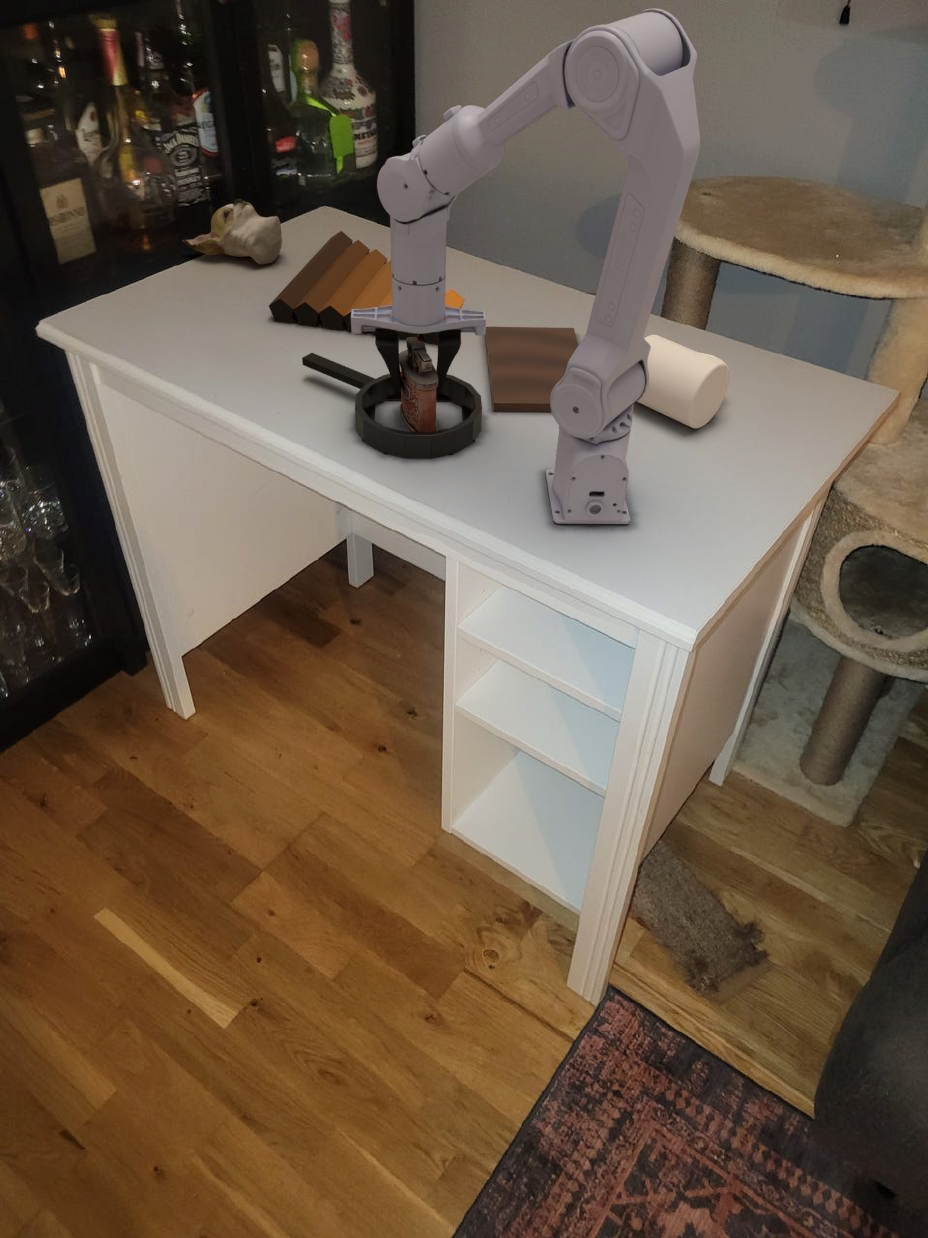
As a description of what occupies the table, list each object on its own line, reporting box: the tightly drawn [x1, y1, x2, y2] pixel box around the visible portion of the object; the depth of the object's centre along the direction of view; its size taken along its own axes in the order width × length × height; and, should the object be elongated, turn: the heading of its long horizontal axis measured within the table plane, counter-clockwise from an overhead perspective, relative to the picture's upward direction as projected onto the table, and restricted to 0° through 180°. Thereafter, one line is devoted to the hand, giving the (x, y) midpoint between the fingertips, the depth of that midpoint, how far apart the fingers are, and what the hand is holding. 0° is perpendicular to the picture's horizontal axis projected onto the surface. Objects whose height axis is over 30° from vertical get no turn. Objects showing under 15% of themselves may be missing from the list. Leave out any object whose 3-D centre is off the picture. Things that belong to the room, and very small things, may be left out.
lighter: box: [399, 337, 439, 432], centre depth 109 cm, size 8×3×10 cm, turn 20°
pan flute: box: [268, 230, 465, 345], centre depth 136 cm, size 25×3×25 cm
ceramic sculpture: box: [182, 198, 283, 265], centre depth 143 cm, size 11×9×15 cm
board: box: [484, 326, 579, 413], centre depth 122 cm, size 20×12×1 cm, turn 2°
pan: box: [301, 352, 483, 459], centre depth 112 cm, size 19×22×3 cm
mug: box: [635, 334, 731, 429], centre depth 115 cm, size 12×10×8 cm
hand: (418, 390), depth 109 cm, fingers closed on lighter, 4 cm apart
